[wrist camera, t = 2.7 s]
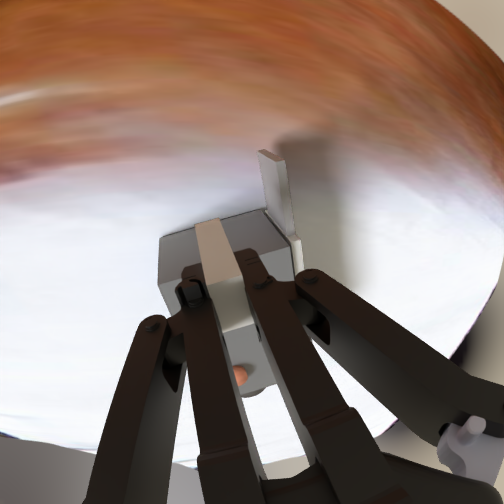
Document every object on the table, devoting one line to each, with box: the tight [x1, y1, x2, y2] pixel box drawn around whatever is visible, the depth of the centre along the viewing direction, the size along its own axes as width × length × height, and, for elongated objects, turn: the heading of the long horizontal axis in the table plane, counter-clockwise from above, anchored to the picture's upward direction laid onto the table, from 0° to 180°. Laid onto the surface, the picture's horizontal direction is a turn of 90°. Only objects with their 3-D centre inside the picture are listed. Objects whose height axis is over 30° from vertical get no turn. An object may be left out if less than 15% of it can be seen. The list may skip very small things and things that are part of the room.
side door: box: [257, 149, 309, 336], centre depth 27 cm, size 16×1×8 cm, turn 10°
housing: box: [158, 210, 312, 398], centre depth 29 cm, size 19×11×9 cm, turn 10°
